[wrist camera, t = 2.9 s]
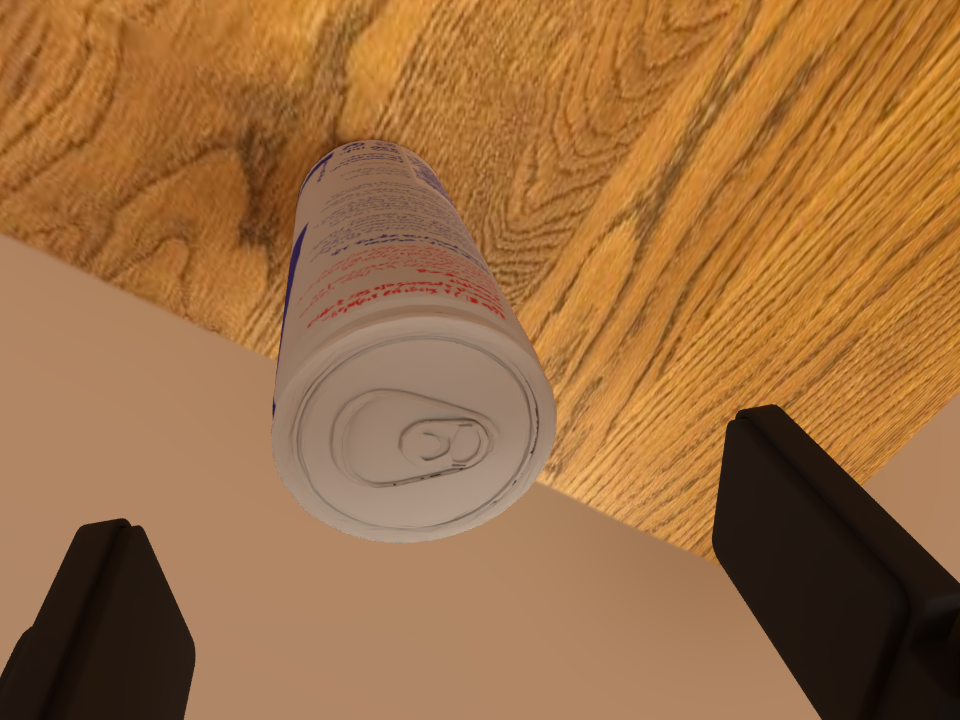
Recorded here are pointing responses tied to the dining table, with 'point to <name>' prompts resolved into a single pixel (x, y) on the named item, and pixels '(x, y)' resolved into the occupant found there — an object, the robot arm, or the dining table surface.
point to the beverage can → (400, 359)
